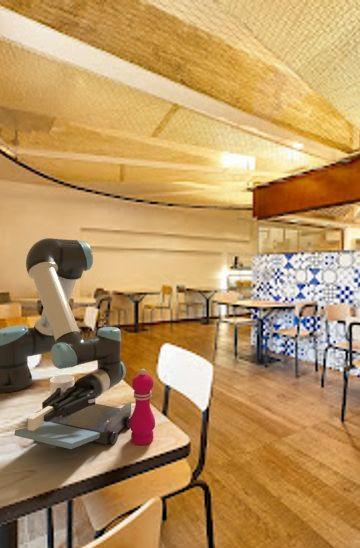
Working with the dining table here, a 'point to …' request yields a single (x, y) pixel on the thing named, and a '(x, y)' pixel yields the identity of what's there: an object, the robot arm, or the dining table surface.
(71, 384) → the white cup
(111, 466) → the dining table surface
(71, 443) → the panel
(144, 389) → the pepper mill
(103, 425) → the cart bed
